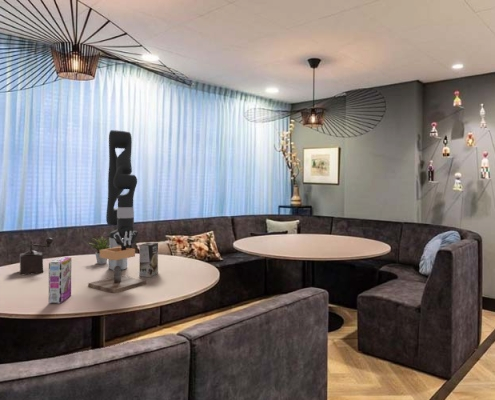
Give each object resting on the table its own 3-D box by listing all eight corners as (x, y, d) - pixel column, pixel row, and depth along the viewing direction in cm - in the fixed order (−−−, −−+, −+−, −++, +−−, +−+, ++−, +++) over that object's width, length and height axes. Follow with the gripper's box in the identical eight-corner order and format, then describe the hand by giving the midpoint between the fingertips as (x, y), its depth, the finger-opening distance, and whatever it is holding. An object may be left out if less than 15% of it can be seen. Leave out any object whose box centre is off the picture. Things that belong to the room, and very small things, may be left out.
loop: (99, 257, 174) (99, 249, 174) (119, 253, 183) (119, 246, 183) (115, 260, 168) (115, 252, 168) (134, 256, 177) (134, 249, 177)
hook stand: (88, 286, 173) (88, 266, 173) (120, 278, 188) (120, 260, 188) (113, 293, 164) (113, 272, 163) (145, 283, 179) (145, 264, 178)
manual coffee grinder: (20, 275, 192) (19, 240, 191) (19, 271, 201) (19, 237, 200) (54, 271, 200) (54, 237, 199) (52, 267, 209) (52, 235, 208)
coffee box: (150, 277, 191) (150, 245, 190) (139, 276, 192) (138, 244, 192) (158, 273, 200) (158, 242, 199) (147, 272, 201) (147, 242, 200)
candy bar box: (61, 304, 149) (61, 262, 148) (48, 304, 148) (47, 262, 147) (72, 295, 160) (71, 256, 159) (59, 295, 159) (59, 256, 158)
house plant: (106, 258, 234) (106, 232, 233) (120, 261, 226) (120, 234, 225) (85, 262, 222) (85, 235, 222) (99, 266, 214) (98, 237, 214)
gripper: (131, 215, 186) (131, 250, 187) (108, 217, 175) (108, 254, 176) (142, 216, 182) (142, 252, 183) (118, 218, 171) (119, 256, 172)
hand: (125, 253), depth 179 cm, fingers closed on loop, 1 cm apart
